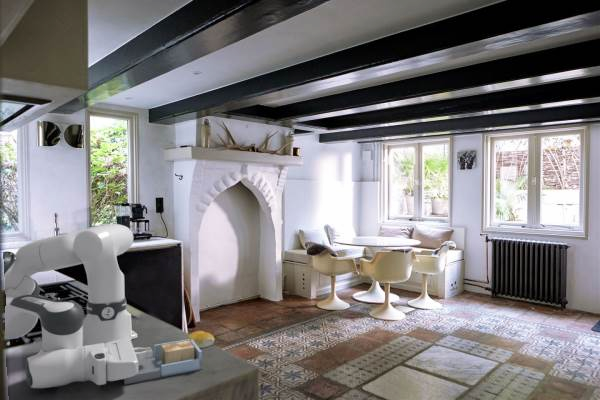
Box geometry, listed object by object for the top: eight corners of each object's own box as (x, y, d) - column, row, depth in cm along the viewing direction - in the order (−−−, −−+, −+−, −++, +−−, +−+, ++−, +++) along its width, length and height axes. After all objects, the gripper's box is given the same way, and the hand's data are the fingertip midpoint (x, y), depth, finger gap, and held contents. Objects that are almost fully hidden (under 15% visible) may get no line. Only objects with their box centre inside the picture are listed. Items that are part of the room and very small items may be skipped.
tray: (154, 361, 126) (154, 344, 126) (192, 354, 132) (191, 338, 131) (161, 377, 116) (161, 358, 116) (202, 369, 121) (201, 351, 121)
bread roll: (202, 337, 147) (202, 326, 147) (218, 344, 141) (218, 332, 141) (181, 344, 141) (181, 332, 141) (196, 351, 135) (196, 338, 135)
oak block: (161, 345, 125) (189, 340, 128) (162, 362, 125) (189, 357, 128) (165, 352, 119) (194, 346, 123) (165, 369, 119) (194, 364, 123)
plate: (120, 367, 122) (120, 360, 122) (153, 361, 126) (153, 355, 126) (124, 384, 112) (124, 377, 112) (160, 377, 116) (160, 370, 116)
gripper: (95, 359, 123) (146, 350, 129) (99, 388, 105) (158, 376, 111) (95, 337, 123) (146, 329, 129) (98, 362, 105) (157, 352, 111)
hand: (151, 351), depth 120 cm, fingers closed
